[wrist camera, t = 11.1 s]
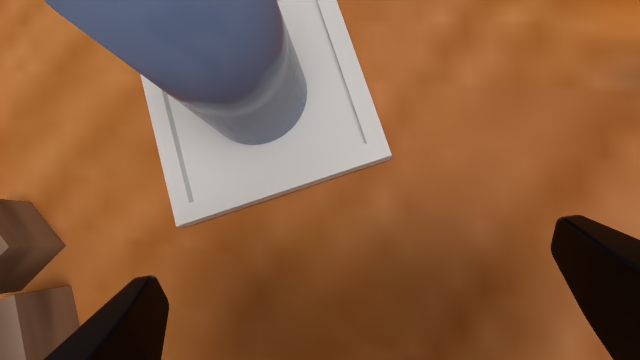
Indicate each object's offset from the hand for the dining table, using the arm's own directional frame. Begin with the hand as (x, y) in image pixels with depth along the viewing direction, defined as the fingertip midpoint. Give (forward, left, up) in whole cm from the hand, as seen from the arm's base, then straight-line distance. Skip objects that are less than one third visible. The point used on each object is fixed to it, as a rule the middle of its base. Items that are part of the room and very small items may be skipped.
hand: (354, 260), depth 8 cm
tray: (-2, +11, -14) cm, 18 cm away
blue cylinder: (-2, +11, -13) cm, 17 cm away
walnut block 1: (-20, +9, -14) cm, 26 cm away
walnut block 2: (-20, +4, -14) cm, 24 cm away
